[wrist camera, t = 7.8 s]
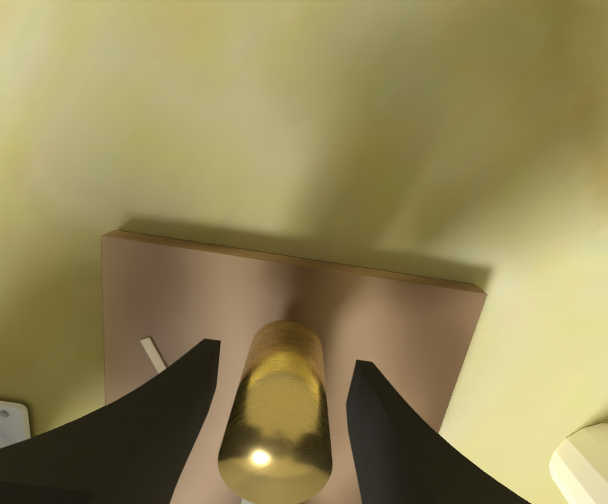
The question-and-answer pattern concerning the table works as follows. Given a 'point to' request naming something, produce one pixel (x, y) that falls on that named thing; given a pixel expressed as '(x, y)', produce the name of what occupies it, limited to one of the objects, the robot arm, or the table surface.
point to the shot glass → (583, 466)
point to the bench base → (267, 308)
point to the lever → (279, 419)
